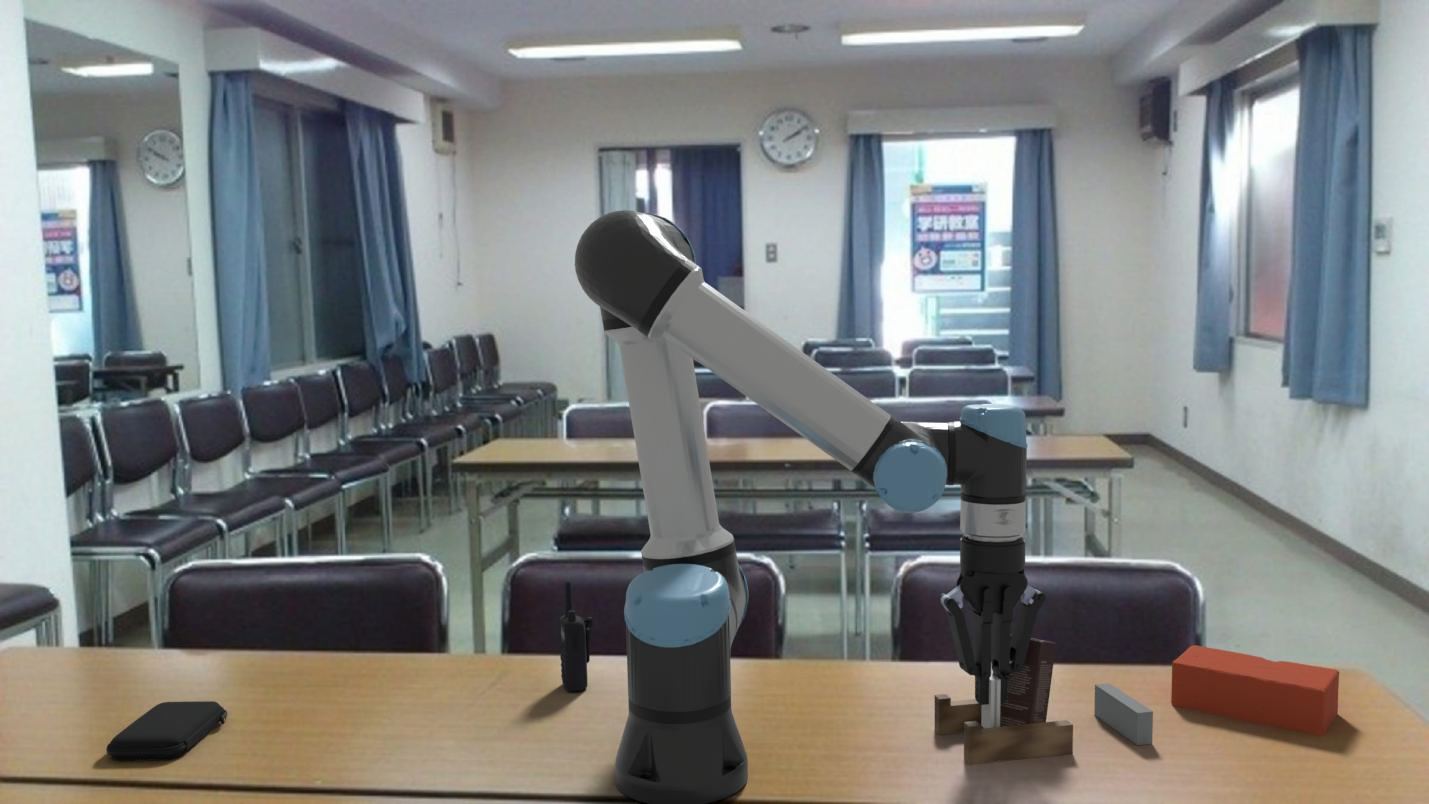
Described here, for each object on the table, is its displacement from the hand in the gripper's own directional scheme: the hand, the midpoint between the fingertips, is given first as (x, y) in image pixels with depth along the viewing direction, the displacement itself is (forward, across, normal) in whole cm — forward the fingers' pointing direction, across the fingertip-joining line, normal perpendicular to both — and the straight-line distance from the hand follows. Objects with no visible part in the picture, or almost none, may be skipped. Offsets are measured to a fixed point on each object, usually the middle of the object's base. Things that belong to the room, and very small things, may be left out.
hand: (990, 729), depth 141 cm
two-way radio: (+2, -47, +33) cm, 57 cm away
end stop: (+2, +18, +1) cm, 18 cm away
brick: (+2, +37, +3) cm, 38 cm away
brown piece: (+2, +2, +1) cm, 3 cm away
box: (+2, +3, +1) cm, 4 cm away
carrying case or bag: (+4, -98, +26) cm, 102 cm away
